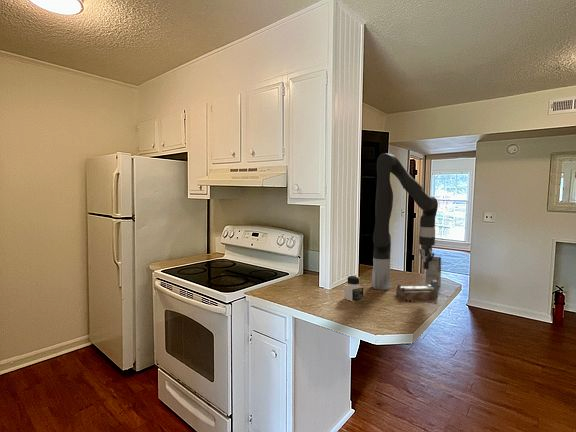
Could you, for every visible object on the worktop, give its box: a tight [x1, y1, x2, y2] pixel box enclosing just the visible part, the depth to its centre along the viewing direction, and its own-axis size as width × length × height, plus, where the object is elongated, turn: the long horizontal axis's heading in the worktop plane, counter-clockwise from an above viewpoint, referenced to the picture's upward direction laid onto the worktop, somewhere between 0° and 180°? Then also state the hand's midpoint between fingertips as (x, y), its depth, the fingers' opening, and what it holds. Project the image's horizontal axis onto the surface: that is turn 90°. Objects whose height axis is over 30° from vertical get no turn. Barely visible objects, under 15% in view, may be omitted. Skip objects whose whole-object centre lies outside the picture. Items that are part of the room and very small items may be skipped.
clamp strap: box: [399, 285, 434, 290], centre depth 168 cm, size 17×4×2 cm, turn 91°
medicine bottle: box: [343, 275, 364, 303], centre depth 165 cm, size 7×7×12 cm
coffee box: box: [425, 256, 442, 287], centre depth 187 cm, size 9×6×16 cm
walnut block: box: [395, 284, 436, 301], centre depth 168 cm, size 17×9×6 cm, turn 91°
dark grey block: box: [431, 280, 439, 298], centre depth 168 cm, size 2×3×8 cm
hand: (425, 268), depth 167 cm, fingers closed
